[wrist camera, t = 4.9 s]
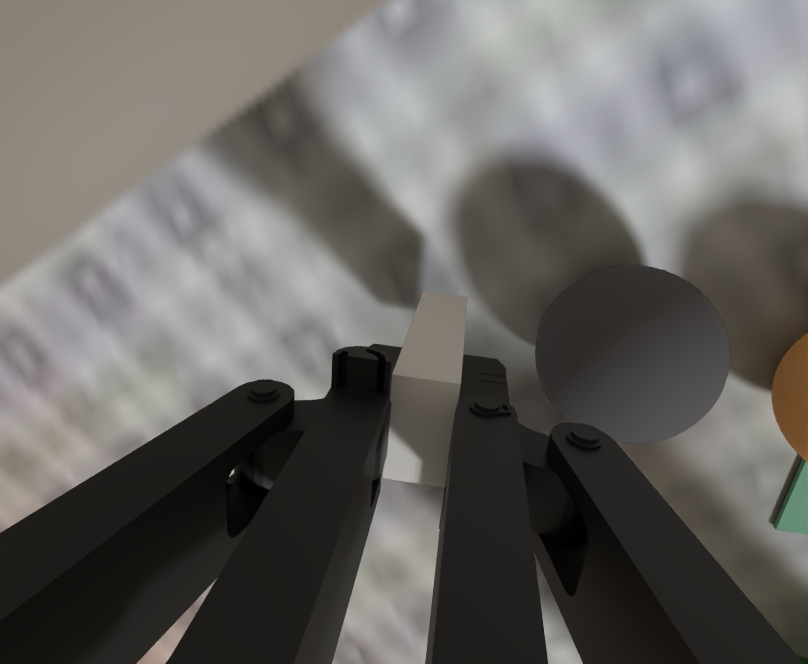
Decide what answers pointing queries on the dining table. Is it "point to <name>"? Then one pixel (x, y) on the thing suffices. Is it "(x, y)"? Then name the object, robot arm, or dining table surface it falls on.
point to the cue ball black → (633, 353)
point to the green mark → (795, 504)
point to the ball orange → (793, 396)
